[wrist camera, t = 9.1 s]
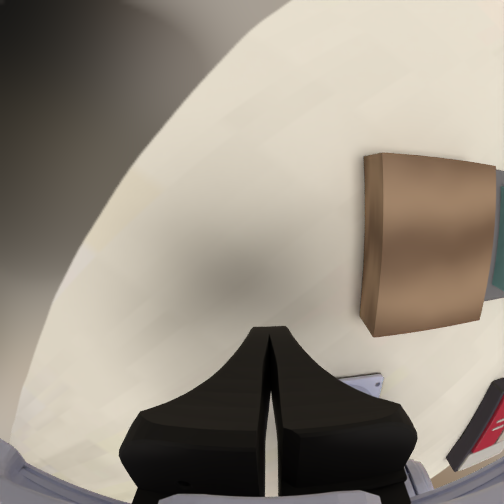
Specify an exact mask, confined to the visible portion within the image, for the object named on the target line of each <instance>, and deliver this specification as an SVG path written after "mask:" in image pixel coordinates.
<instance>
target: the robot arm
mask: <svg viewBox="0 0 504 504" xmlns="http://www.w3.org/2000/svg"><path fill="white" fill-rule="evenodd" d="M383 380H384V377H383V376H382V374H374V375H367V376H359V377H351V378H343V379H337V378H335V377H334V376H332V375H331V374H330V373H328V372H327V371H326V370H324V369H323V368H322V367H320V366H319V365H318V364H317V363H316V362H315V361H314V360H313V359H312V358H311V357H310V356H309V355H308V354H307V353H306V352H305V351H304V349H303V348H302V347H301V346H300V345H299V344H298V342H297V341H296V340H295V338H294V337H293V336H292V334H291V333H290V331H289V329H288V328H287V327H286V326H272V327H253V328H252V329H251V330H250V332H249V334H248V336H247V337H246V339H245V340H244V342H243V343H242V345H241V346H240V347H239V348H238V350H237V351H236V352H235V354H234V355H233V356H232V357H231V358H230V359H229V360H228V361H227V363H226V364H225V365H224V366H223V367H222V368H221V369H220V370H219V371H217V372H216V373H215V374H214V375H213V376H212V377H210V378H209V379H208V380H206V381H205V382H203V383H202V384H200V385H199V386H197V387H196V388H194V389H193V390H191V391H189V392H188V393H186V394H184V395H182V396H180V397H178V398H176V399H174V400H171V401H169V402H167V403H164V404H161V405H159V406H156V407H153V408H150V409H147V410H144V411H140V413H139V414H138V416H137V417H136V419H135V420H134V422H133V423H132V425H131V427H130V429H129V431H128V433H127V435H126V437H125V439H124V441H123V443H122V445H121V447H120V449H119V457H120V460H121V462H122V464H123V466H124V467H125V469H126V471H127V472H128V474H129V475H130V477H131V478H132V480H133V481H134V483H135V484H136V486H137V487H138V488H137V491H136V494H135V496H134V499H133V502H132V504H504V456H503V457H502V458H500V459H498V460H496V461H495V462H493V463H491V464H489V465H487V466H485V467H483V468H481V469H480V470H477V471H475V472H473V473H471V474H469V475H467V476H465V477H463V478H460V479H458V480H456V481H453V482H451V483H449V484H446V485H444V486H441V487H439V488H436V489H434V488H433V485H432V483H431V480H430V478H429V476H428V473H427V471H426V469H425V468H424V466H423V465H422V463H421V462H418V461H414V460H413V459H409V457H410V455H411V453H412V451H413V450H414V448H415V445H416V442H417V432H416V430H415V428H414V426H413V424H412V422H411V420H410V418H409V417H408V415H407V414H406V412H405V411H404V409H403V408H402V406H401V405H400V404H398V403H394V402H391V401H387V400H384V399H380V398H379V396H380V392H381V388H382V384H383ZM378 382H379V383H378ZM376 383H378V384H376ZM270 393H271V394H272V402H273V409H274V416H275V423H276V430H277V440H278V497H265V440H266V429H267V420H268V412H269V403H270ZM408 459H409V460H408ZM404 466H405V467H404ZM0 504H130V503H127V502H123V501H120V500H116V499H113V498H110V497H107V496H103V495H100V494H98V493H95V492H92V491H89V490H86V489H84V488H81V487H78V486H76V485H73V484H71V483H69V482H66V481H64V480H61V479H59V478H57V477H55V476H53V475H50V474H48V473H46V472H44V471H42V470H40V469H38V468H36V467H34V466H32V465H30V464H28V463H27V462H25V460H24V458H23V457H22V455H21V454H20V453H19V452H18V451H17V450H16V449H15V448H14V447H13V446H12V445H10V444H9V443H7V442H5V441H4V440H2V439H0Z"/></svg>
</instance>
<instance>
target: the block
mask: <svg viewBox="0 0 504 504" xmlns="http://www.w3.org/2000/svg"><path fill="white" fill-rule="evenodd" d="M492 285H494V286H496V287H497V288H499V289H501V290H502V291H504V187H503V186H501V205H500V224H499V237H498V246H497V255H496V262H495V269H494V275H493V281H492Z"/></svg>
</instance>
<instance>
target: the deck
mask: <svg viewBox="0 0 504 504" xmlns="http://www.w3.org/2000/svg"><path fill="white" fill-rule="evenodd" d="M364 174H365V241H364V265H363V281H362V294H361V306H360V317H361V319H362V320H363V322H364V323H365V325H366V327H367V328H368V330H369V331H370V333H371V335H372V336H373V337H382V336H390V335H397V334H404V333H411V332H418V331H424V330H430V329H436V328H441V327H447V326H452V325H457V324H462V323H467V322H472V321H477V320H479V319H480V315H481V311H482V307H483V302H484V298H485V293H486V288H487V282H488V276H489V270H490V264H491V256H492V248H493V239H494V227H495V211H496V166H492V165H486V164H480V163H474V162H467V161H460V160H453V159H445V158H437V157H428V156H418V155H407V154H394V153H378V154H373V155H369V156H364Z"/></svg>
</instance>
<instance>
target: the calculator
mask: <svg viewBox="0 0 504 504" xmlns="http://www.w3.org/2000/svg"><path fill="white" fill-rule="evenodd" d="M503 449H504V378H501V379H497V380H494V381H493V382H492V383H491V385H490V386H489V388H488V390H487V392H486V394H485V396H484V398H483V400H482V402H481V403H480V405H479V407H478V409H477V411H476V412H475V414H474V416H473V418H472V420H471V421H470V423H469V425H468V427H467V429H466V430H465V432H464V434H463V435H462V437H461V439H460V440H458V441H457V442H456V444H455V445H454V447H453V448H452V449H451V451H450V452H449V454H448V455H447V456H446V459H447V460H448V462H449V464H450V465H451V467H452V469H453V470H454V472H456V471H460V470H463V469H466V468H468V467H471V466H473V465H475V464H478V463H480V462H482V461H485V460H487V459H489V458H491V457H493V456H495V455H497V454H499V453H501V452H502V450H503Z"/></svg>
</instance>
